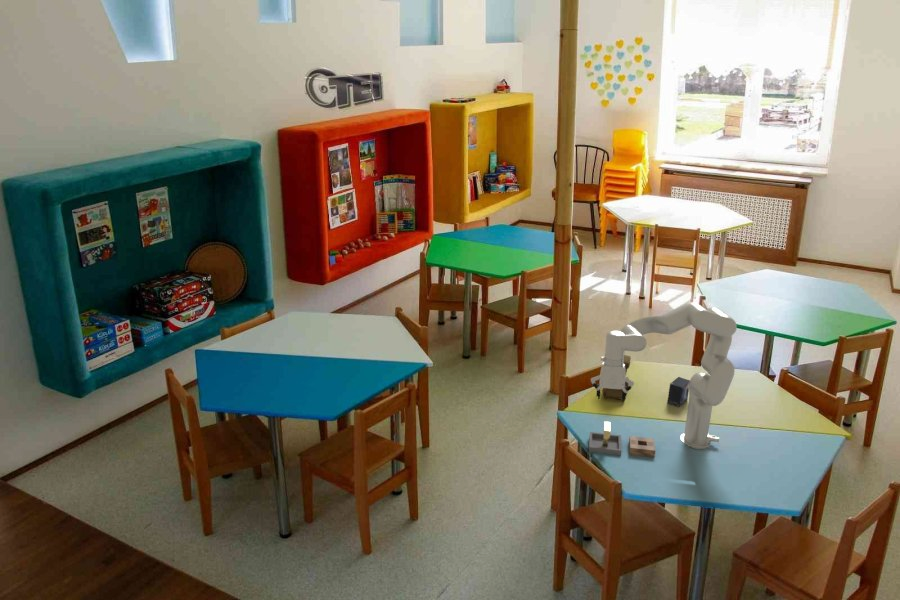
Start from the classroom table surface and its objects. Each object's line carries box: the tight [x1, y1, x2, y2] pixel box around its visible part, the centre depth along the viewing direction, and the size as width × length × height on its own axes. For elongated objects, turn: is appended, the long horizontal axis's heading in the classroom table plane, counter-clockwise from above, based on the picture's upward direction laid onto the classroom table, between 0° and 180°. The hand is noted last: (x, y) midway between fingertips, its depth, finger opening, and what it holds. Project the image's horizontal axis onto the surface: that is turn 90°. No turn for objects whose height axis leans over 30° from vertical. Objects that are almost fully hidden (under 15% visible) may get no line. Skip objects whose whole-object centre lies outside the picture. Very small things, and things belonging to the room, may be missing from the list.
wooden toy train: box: [602, 354, 632, 401], centre depth 373 cm, size 20×11×17 cm, turn 163°
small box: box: [666, 376, 690, 408], centre depth 367 cm, size 11×6×10 cm, turn 143°
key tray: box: [588, 431, 623, 456], centre depth 326 cm, size 13×13×3 cm
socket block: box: [628, 435, 656, 458], centre depth 323 cm, size 10×10×4 cm
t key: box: [602, 421, 612, 447], centre depth 325 cm, size 8×2×9 cm, turn 169°
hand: (610, 399), depth 319 cm, fingers open, 9 cm apart
